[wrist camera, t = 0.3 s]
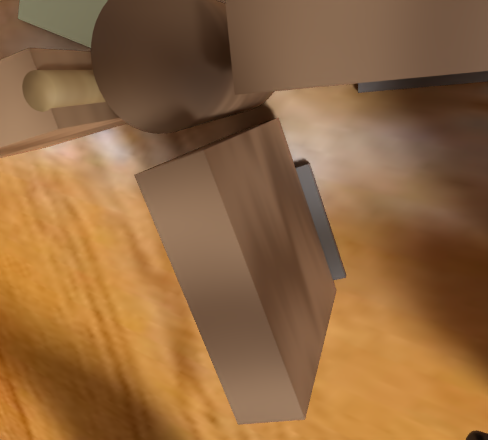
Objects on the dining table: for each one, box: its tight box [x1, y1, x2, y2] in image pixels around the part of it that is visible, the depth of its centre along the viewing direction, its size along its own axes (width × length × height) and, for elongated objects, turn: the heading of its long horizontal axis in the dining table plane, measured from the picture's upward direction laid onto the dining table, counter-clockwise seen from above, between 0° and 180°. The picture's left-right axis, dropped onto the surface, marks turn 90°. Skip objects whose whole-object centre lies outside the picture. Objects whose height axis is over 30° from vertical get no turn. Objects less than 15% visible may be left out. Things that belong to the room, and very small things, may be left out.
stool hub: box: [91, 0, 488, 425], centre depth 16 cm, size 16×14×10 cm
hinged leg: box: [0, 48, 126, 158], centre depth 19 cm, size 9×2×9 cm, turn 106°
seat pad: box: [18, 0, 108, 48], centre depth 22 cm, size 8×4×1 cm, turn 71°
